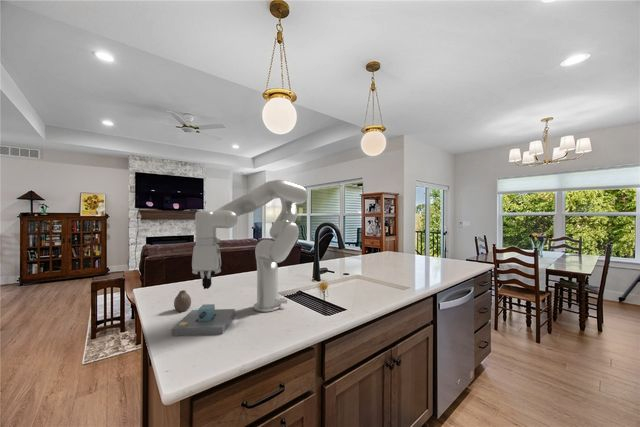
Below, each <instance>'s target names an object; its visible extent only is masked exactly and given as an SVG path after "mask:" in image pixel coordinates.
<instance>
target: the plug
mask: <svg viewBox="0 0 640 427" xmlns="http://www.w3.org/2000/svg"><path fill="white" fill-rule="evenodd" d="M215 306H216V305H215V303H212V304H207V303H206V304H205V303H204V304H202V305H201V306H200V307H199V308H198V309H197V310H198V322H206V321H212V320H213V318H214V317H215V309H216V307H215Z"/></svg>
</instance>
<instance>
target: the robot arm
mask: <svg viewBox="0 0 640 427" xmlns="http://www.w3.org/2000/svg"><path fill="white" fill-rule="evenodd" d="M308 194H309V193H308V191H307V189H306V188H304V187H303V186H302V185H299V184H296V183H293V182H290V181H286V180H282V179H273V180H269V181H266V182H264V183H261V185H259V186H257V187H256V188H254V189H252V190H251V191H249V192H248V193H246V194H243V195H241V196H240V197H237V198H236V199H234V200H231V201H229V202H228V203H226V204H225V205H222V206H220V207H219V208H217V209H216V210H215V211H213V210H198V211H196V212H195V215H194V216H195V217H194V222H195V224H194V225H195V245H194V246H193V250H192V258H191V267H192V268H191V269H192V271H191V272H192V274H194V275H198V276H199V277H200V279H201V285H202V287H203V289H204V290H205V289H206V290H209V288H211V287H212V277H213V276H214V275H216V274H219V273H221V271H222V269H221V266H222V258H221V250H220V245H219V244H218V243H220V242H221V239H220V238H218V237H217V229H232V228H233V227H235V226H236V224H238V217H240V216H242V215H245V214H246V215H247V214H250V213H253V212H256V211H258V210H259V209H261V208H263V207H264V206H266V205H267V204H268V203H270V202H272V201H273V200H274V199H279V200H280V203H281V211H280V213H279V214H278V216H277V218H276V219H275V220H274V222H273V223H272V225H271V227H270V229H269V236H270V237H271V239H263V240H260V241H259V242H257V244H256V246H255V251H254V253H255V260H256V303H254V304H253V309H254V311H257V312H261V313H264V312H265V313H266V312H267V313H268V312H269V313H270V312H273V311H278V310H279V309H281V307H282V304H285V305H286V304H288V299H286V298H285V297H284V298H282V297H280V295H279V294H278V293H279V292H278V289H279V288H278V286H279V285H278V284H279V282H278V279H279V278H278V273H279V271H278V270H279V269H278V268H279V267H278V264H280V263H282V262H284V261H285V260H286V259H287V257H288V256H289V254H290V253H291V251H292V249H293V247H294V246H295V244H296V242H297V240H298V238H299V235H300V229H299V227H298V224H296V220H297V218H298V214H299V213H298V208H297V207H298V206H297V205H302V204H304V203H305V202H306V201H307V200H308V198H309V195H308Z"/></svg>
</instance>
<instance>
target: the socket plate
mask: <svg viewBox="0 0 640 427" xmlns="http://www.w3.org/2000/svg"><path fill="white" fill-rule="evenodd" d="M235 314H236V309H235V308H224V309H221V308H220V309H219V308H218V309H216V308H215V317H214V318H213V320H212V321H206V322H198V309H192V310H191V311H189V312H188V313H187V314H186V315H184V317H183V318H182V319H181V320H179V321H178V322H177V323H176V324H175V325H174V326H173V327H171V336H172V335H173V336H198V335H199V334H203V335H223V334H224V332H225V331H226V329H227V327H228V326H229V325H230V323H231V322H232V320H233V318H234V317H235ZM197 334H198V335H197ZM199 336H200V335H199Z"/></svg>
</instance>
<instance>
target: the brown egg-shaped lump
mask: <svg viewBox="0 0 640 427" xmlns="http://www.w3.org/2000/svg"><path fill="white" fill-rule="evenodd" d="M191 304H192V298H191V296H190V295H189V294H188V293H187V291H186V290H185V289H184V290H183V289H182V290H180V291H179V293H178V294H177V295H176V296H175V298H174V301H173V307H174V310H175V311H177V312H178V313H183V312H186V311H188V310H189V309H190V307H191Z"/></svg>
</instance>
